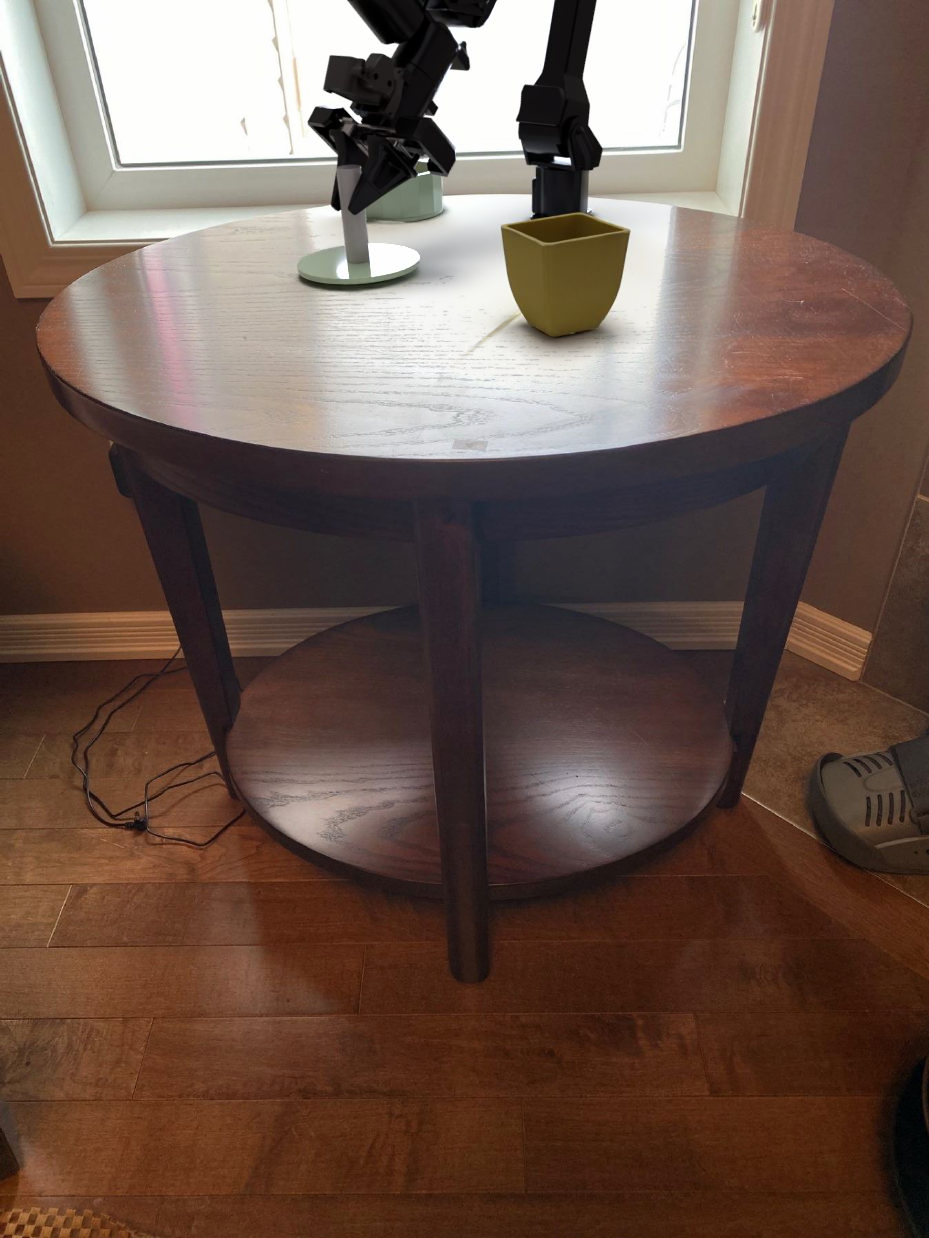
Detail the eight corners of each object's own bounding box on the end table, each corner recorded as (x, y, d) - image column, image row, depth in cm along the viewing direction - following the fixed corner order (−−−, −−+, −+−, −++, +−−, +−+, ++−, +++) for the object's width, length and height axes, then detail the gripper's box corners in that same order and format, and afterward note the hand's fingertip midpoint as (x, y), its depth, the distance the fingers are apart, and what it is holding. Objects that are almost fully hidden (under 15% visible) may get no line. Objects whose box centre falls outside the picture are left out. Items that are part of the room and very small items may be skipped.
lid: (441, 259, 104) (435, 157, 97) (382, 295, 94) (372, 184, 88) (339, 250, 109) (328, 152, 102) (274, 283, 99) (257, 177, 93)
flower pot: (499, 321, 88) (498, 223, 83) (577, 306, 91) (581, 210, 85) (543, 349, 82) (545, 244, 76) (626, 332, 84) (633, 230, 79)
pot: (466, 200, 131) (465, 158, 127) (407, 231, 118) (404, 184, 115) (390, 195, 135) (387, 154, 132) (325, 224, 122) (319, 179, 119)
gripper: (309, 17, 95) (239, 151, 96) (427, 20, 84) (347, 171, 85) (375, 94, 104) (310, 215, 105) (490, 105, 93) (416, 242, 94)
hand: (342, 210), depth 97 cm, fingers closed on lid, 2 cm apart
